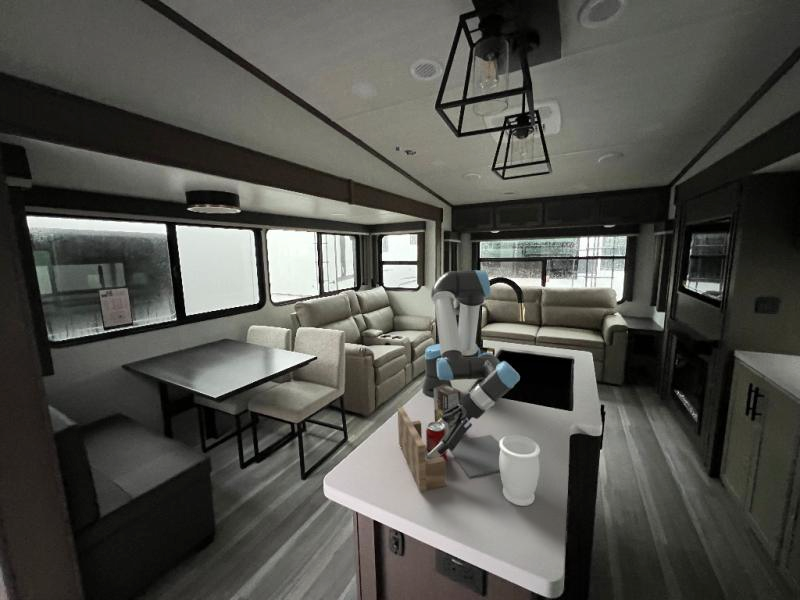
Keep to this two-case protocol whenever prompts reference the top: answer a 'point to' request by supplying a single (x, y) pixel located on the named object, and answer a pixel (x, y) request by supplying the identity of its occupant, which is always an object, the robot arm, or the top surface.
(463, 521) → the top surface
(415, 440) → the walnut bay
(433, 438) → the soda can
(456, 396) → the coffee box
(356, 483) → the top surface
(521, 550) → the top surface
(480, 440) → the rubber mat
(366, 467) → the top surface
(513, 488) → the jar
